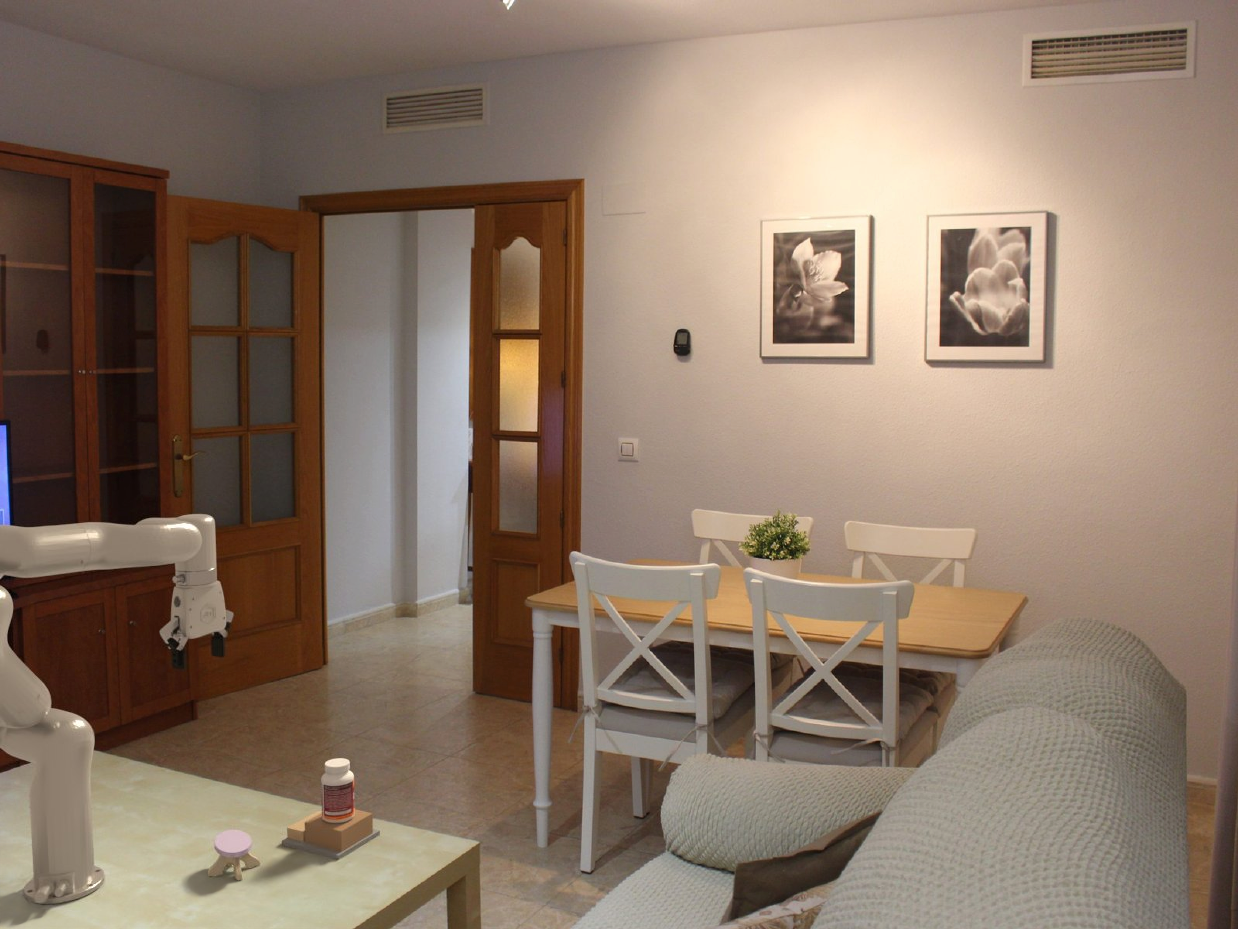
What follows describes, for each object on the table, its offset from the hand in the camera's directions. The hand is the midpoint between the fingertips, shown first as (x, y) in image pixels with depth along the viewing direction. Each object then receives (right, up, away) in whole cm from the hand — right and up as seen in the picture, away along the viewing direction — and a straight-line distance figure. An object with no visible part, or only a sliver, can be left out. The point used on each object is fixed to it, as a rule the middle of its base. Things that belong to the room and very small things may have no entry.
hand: (199, 662), depth 210 cm
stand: (+27, -34, -4) cm, 44 cm away
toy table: (+13, -35, -16) cm, 41 cm away
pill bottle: (+29, -29, -5) cm, 41 cm away
